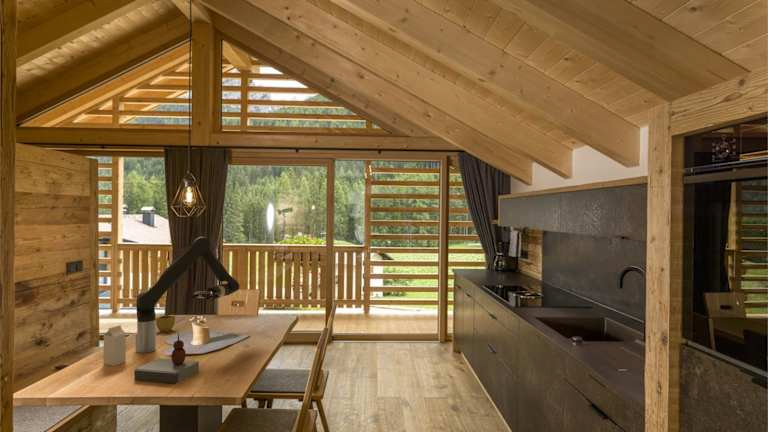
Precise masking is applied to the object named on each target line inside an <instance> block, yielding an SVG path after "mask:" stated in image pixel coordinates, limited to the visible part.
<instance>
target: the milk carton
mask: <svg viewBox="0 0 768 432" xmlns="http://www.w3.org/2000/svg"><path fill="white" fill-rule="evenodd" d="M126 336H127V334H126V332H125V331H124V330H123V328H122V324H120V325H115V326H112V327H108V330H107V332H106V333H105V334H104V335H103V365H107V366H113V367H115V366H117V365H121V364H123V363H126V361H127V360H126V359H127V357H126V356H127V355H126V354H127V349H126V348H127V346H126V345H127V339H126Z"/></svg>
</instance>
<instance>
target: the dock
mask: <svg viewBox="0 0 768 432" xmlns="http://www.w3.org/2000/svg"><path fill="white" fill-rule="evenodd" d="M199 363H200V361H198V360H188V359H185V360H184V363H183V364H181V365H174V364H173V362H172V359H171V358H164V357H163V358H162V357H159V358H157V359H155V360H152V361H150V362H148V363H145V364H143V365H141V366H139V367H137V368H136V369H134V370H133V371H134V373H133V375H134V376H133V377H134V380H135V381H141V382H142V381H143V382H152V381H153V382H154V383H155V382H156V383H162V382H165V384H173V385H176V384H179V383H181V382H183V381H185V380H186V379H188V378H190V377H191V376H193V375H195V374H197V373H198V372H199V371H200V368H199V367H200V365H199ZM184 379H185V380H184ZM153 382H152V383H153Z"/></svg>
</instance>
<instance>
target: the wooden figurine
mask: <svg viewBox="0 0 768 432" xmlns="http://www.w3.org/2000/svg"><path fill="white" fill-rule="evenodd" d="M184 344H185V343H184V341H183V340H180V333H179V332H177V340H176V341H174V342H173V345H172V346H173V350H172V352H171V356H170V357H171V358H170V359H172V362H173V364H174V365H181V364H183V363H184V360H186V349H184V347H185V345H184Z"/></svg>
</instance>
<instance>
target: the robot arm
mask: <svg viewBox="0 0 768 432" xmlns="http://www.w3.org/2000/svg"><path fill="white" fill-rule="evenodd" d="M200 257H201V258H202V259H203V260H204V261H205V263H206V264H207V265H208V267H209V269H210V271H211V272H212V274H213V275H214V276H215V278H216V279H217V281H218V282H220V284H217V285H214V286H213V285H212V286H209V287H207V288H206V290H203V291H200V290H199V291H195V292H192V294H191V295H190V299H191V300H193V299H198V298H199V299H205V300H208V301H214V300H218V299H220V298H222V297H227V296H230V295H232V294H233V293H235V292H237V291H239V290H240V284H239V281H238V280H237V279H235V278H234V277H233V276H232V275H231V274H230V273H229V272H228V270H226V268H225V267H224V265H223V264H222V262H221V261H220V260H219V259H218V258H217V257H216V256H215V254H214V253H213V251H212V249H211V240H210V239H209V238H208V237H205V236H198V237H197V238H195V239H194V240H193V242H192V245H191V246H190V247H189V248H188V250H187V251H186V252H184V253H183V254H182V255H181V256H179V257H178V258H176V259H175V260H174V261H173V262H172V263H171V264H170V265H169V266H167V268H166V269H165V270H164V271H163V272H162V274H161V275H160V276H159V278H158V279H157V281H156V282H155V284H154V285H153V286H152V287H150V288H149V289H148V290H144V291H141V292H140V293H139V294H138V295H137V297H136V318H137V319H136V320H137V322H136V325H137V326H136V329H137V330H136V334H135V352H137V353H138V354H139V353H140V354H146V353H151V352H155V351H156V349H157V348H156V347H157V346H156V345H157V344H156V343H157V342H156V341H157V340H156V339H157V335H156V334H157V330H156V329H157V325H156V318H157V315H156V310H155V306H156V305H157V304H158V302H159V300H161V298H162V297H163V295H164V294H165V293H166V292H167V291H169V290H170V288H171V287H173V286H174V285H175V284H176V283H177V282H178V281H179V280H180V279H181V278H182V277H183V276H184V275H185V274H186V273H187V272H188V270H189V269H190V268H191V267H192V265H194V263H195V262H196V261H197V260H198V259H199V258H200ZM222 282H226V283H222ZM221 283H222V284H221Z"/></svg>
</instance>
